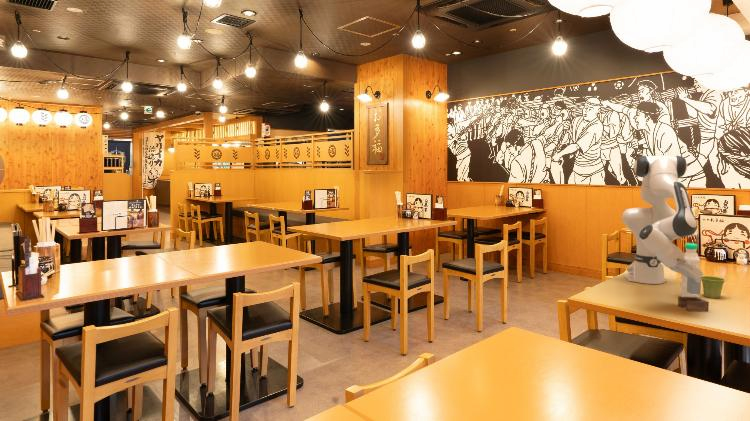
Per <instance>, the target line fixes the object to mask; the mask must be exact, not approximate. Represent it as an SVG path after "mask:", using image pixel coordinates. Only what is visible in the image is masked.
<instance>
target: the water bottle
mask: <svg viewBox="0 0 750 421" xmlns="http://www.w3.org/2000/svg"><path fill="white" fill-rule="evenodd" d="M698 246H699V245H698V244H697V243H692V242H691V243H690V242H689V243H685V247H684V248H685V252H683V253H684V254H685V256H684V258H685V260H687V261H689V262H691V263H692V264H694V265H695V266H696V267H697V268H698V269H699V270H700V269H701V268H700V267H701V266H700V262H701V259H700V257H699V254H698V253H697V250H698ZM680 280H681V281H680V292H679V295H680V296H679V297H699V295H700V294H691V293H688V292H687V277H686V276H684V275H683V274H680ZM699 298H700V297H699Z"/></svg>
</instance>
